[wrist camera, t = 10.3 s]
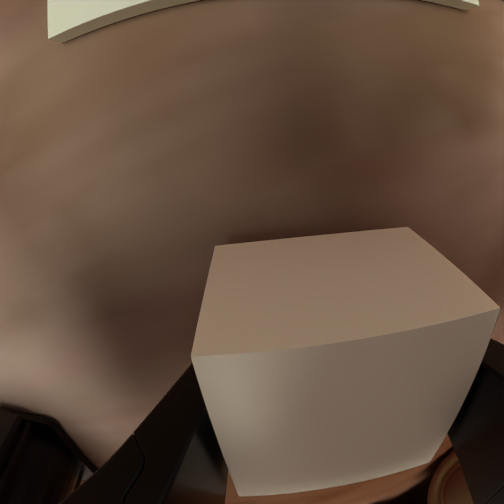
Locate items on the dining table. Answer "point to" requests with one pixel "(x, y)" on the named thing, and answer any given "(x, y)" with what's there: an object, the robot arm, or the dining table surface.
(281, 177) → the dining table surface
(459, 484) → the wooden toy train
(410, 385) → the brick
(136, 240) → the dining table surface
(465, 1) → the plate
